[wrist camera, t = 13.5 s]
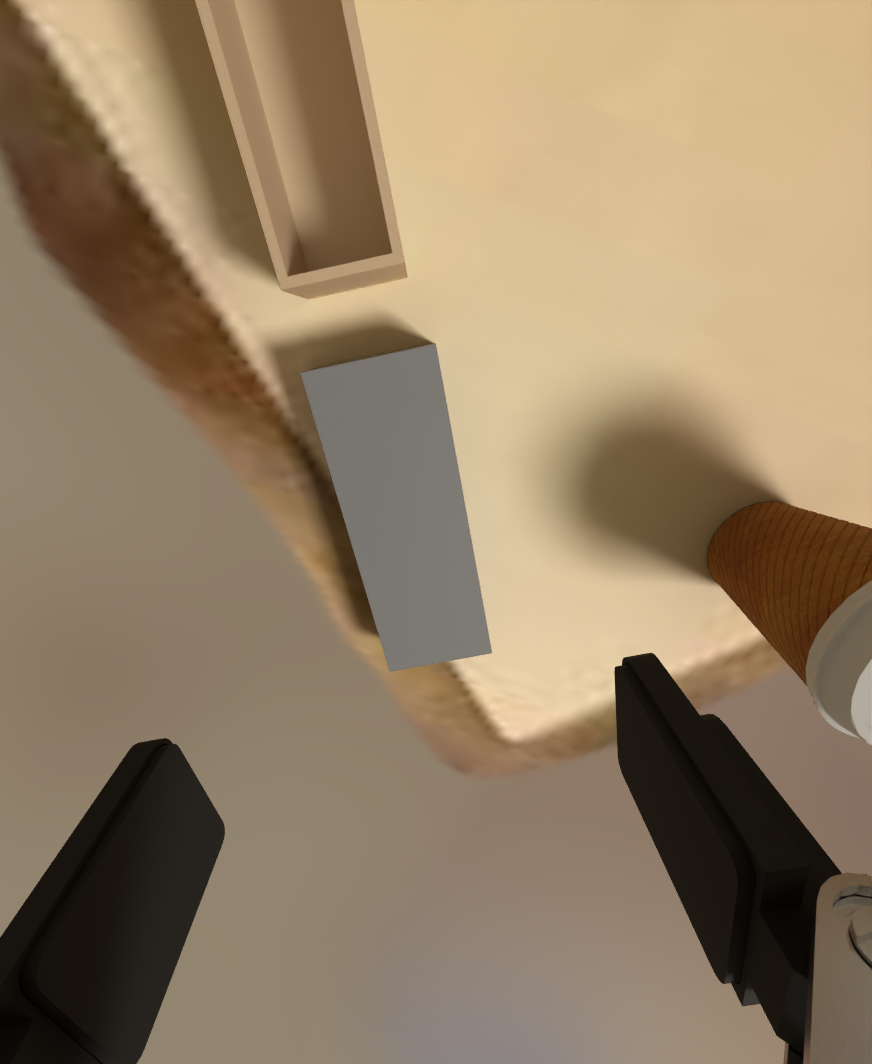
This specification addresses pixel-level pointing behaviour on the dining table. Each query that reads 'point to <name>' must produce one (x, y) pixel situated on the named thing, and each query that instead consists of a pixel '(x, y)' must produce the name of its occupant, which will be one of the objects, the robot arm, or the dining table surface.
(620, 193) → the dining table surface
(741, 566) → the disposable coffee cup
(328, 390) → the gray rectangular block
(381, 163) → the tan open box
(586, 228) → the dining table surface
